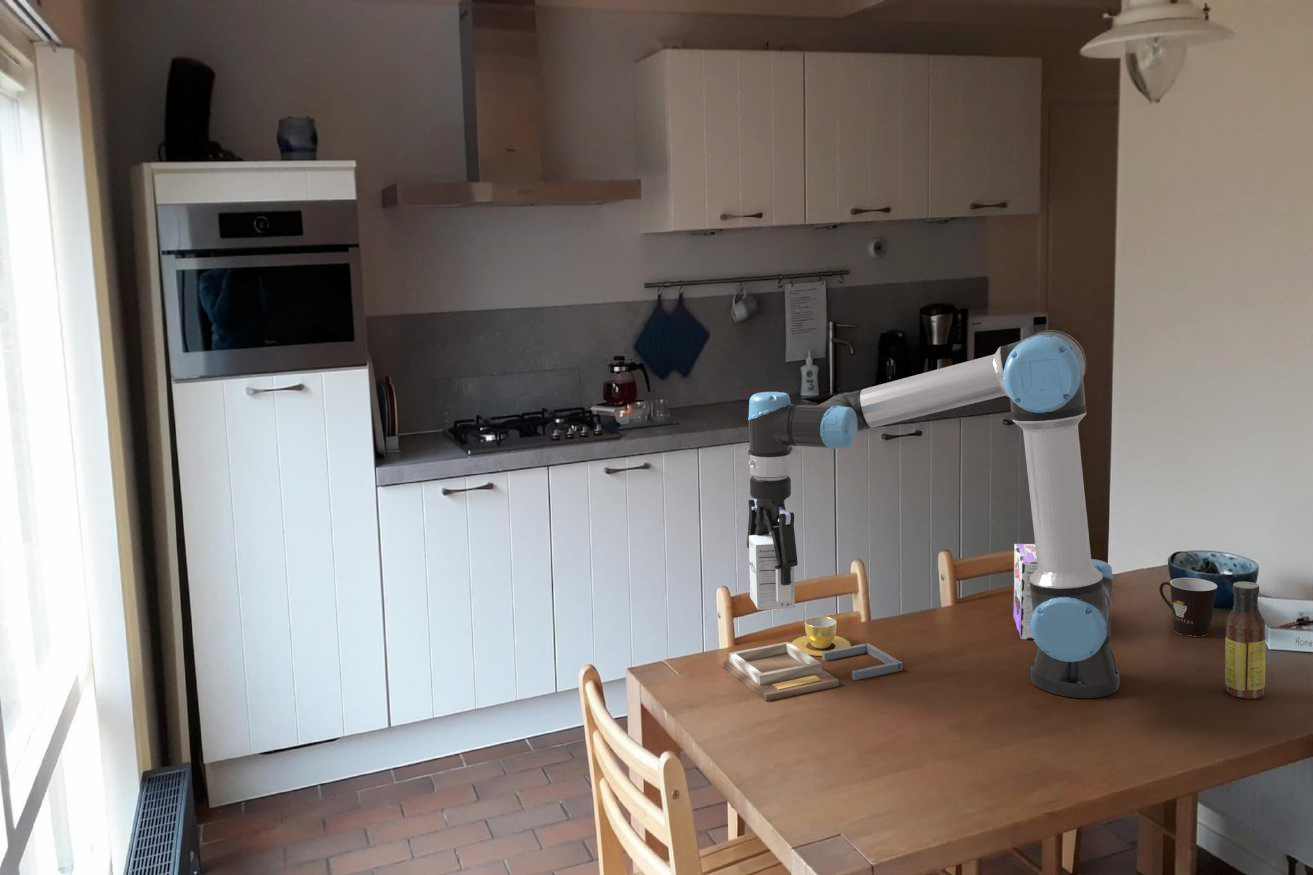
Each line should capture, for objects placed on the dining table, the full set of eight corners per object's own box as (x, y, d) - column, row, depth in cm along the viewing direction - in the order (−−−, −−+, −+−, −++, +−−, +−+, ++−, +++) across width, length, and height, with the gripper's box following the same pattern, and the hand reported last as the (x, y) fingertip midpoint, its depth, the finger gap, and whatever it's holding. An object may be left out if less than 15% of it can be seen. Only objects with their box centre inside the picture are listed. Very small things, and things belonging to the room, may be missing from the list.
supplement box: (749, 598, 216) (747, 534, 214) (787, 596, 217) (786, 532, 215) (756, 610, 209) (754, 544, 207) (795, 608, 209) (794, 542, 207)
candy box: (1012, 617, 241) (1013, 542, 238) (1041, 617, 239) (1042, 542, 237) (1019, 639, 227) (1021, 561, 224) (1050, 640, 226) (1052, 561, 223)
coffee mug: (1223, 638, 224) (1225, 590, 222) (1179, 640, 224) (1181, 591, 222) (1196, 619, 235) (1198, 572, 233) (1154, 620, 235) (1156, 574, 233)
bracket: (902, 670, 214) (902, 662, 214) (854, 680, 210) (854, 672, 210) (868, 650, 225) (868, 642, 225) (822, 659, 221) (822, 651, 221)
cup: (862, 651, 225) (862, 625, 224) (809, 661, 221) (809, 635, 220) (831, 633, 236) (830, 608, 235) (780, 642, 232) (779, 617, 231)
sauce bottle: (1263, 689, 199) (1269, 580, 196) (1265, 702, 193) (1272, 591, 190) (1221, 684, 202) (1227, 577, 198) (1222, 697, 196) (1228, 587, 193)
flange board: (838, 686, 208) (838, 670, 207) (766, 701, 202) (765, 685, 202) (791, 654, 224) (791, 640, 224) (723, 667, 219) (722, 652, 218)
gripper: (727, 468, 217) (729, 581, 221) (779, 489, 197) (781, 613, 201) (762, 464, 220) (764, 576, 224) (816, 484, 200) (817, 607, 204)
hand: (772, 593), depth 212 cm, fingers closed on supplement box, 8 cm apart
